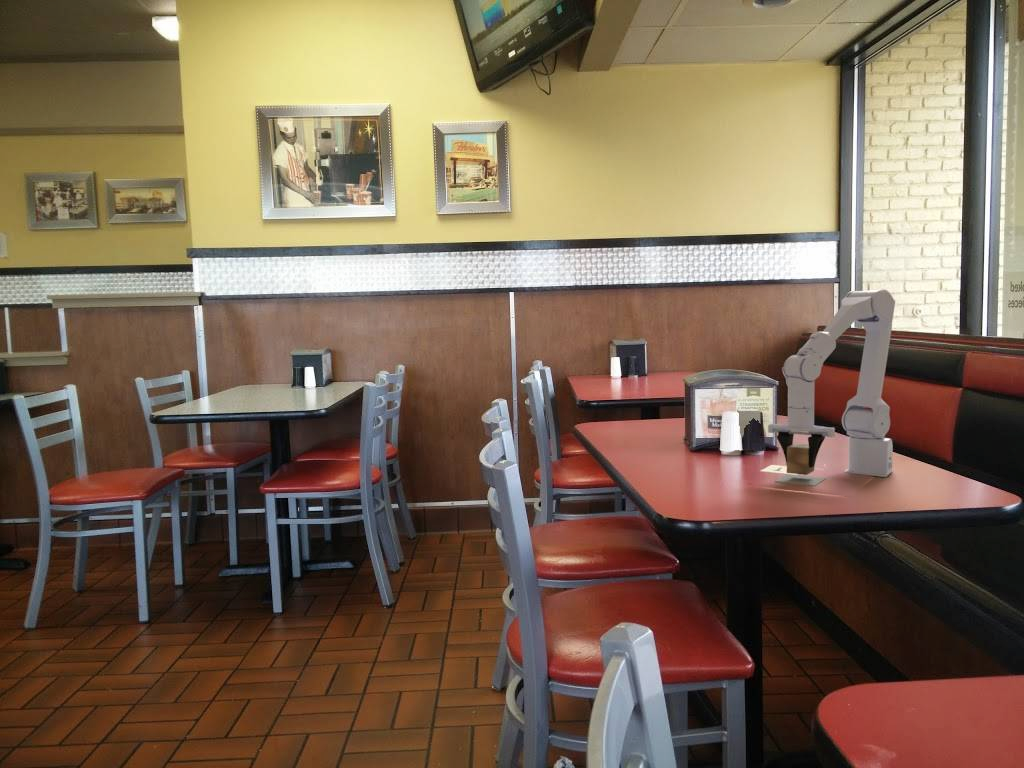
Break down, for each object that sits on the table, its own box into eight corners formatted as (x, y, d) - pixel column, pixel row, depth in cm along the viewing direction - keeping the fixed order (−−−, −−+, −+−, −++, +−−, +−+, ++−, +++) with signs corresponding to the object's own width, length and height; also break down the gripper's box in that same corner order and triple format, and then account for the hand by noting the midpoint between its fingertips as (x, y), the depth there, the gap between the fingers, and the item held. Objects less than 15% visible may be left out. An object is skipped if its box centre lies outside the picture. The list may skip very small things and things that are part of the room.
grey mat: (825, 480, 180) (825, 477, 180) (814, 488, 173) (814, 485, 173) (786, 476, 185) (786, 473, 185) (774, 483, 178) (774, 480, 178)
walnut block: (814, 470, 180) (814, 445, 179) (806, 474, 175) (807, 448, 174) (794, 468, 182) (794, 443, 182) (786, 472, 178) (787, 447, 177)
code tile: (807, 469, 192) (807, 468, 192) (796, 476, 185) (796, 474, 185) (771, 466, 197) (771, 464, 197) (759, 472, 190) (759, 471, 190)
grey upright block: (757, 449, 221) (757, 408, 219) (760, 452, 216) (761, 410, 215) (736, 450, 221) (736, 408, 220) (738, 452, 217) (738, 410, 216)
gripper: (763, 407, 178) (763, 465, 180) (829, 411, 170) (828, 471, 171) (773, 404, 184) (773, 460, 185) (837, 407, 175) (836, 466, 177)
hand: (800, 465), depth 179 cm, fingers closed on walnut block, 4 cm apart
